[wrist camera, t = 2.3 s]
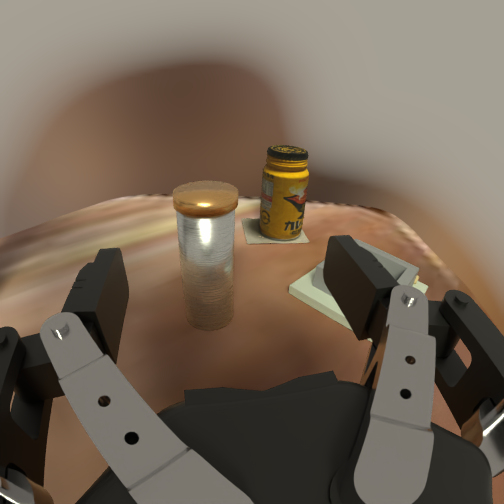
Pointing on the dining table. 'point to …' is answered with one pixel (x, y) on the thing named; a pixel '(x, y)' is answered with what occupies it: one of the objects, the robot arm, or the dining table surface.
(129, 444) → the robot arm
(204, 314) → the glass storage jar
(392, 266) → the dock
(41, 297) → the dining table surface
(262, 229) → the condiment
